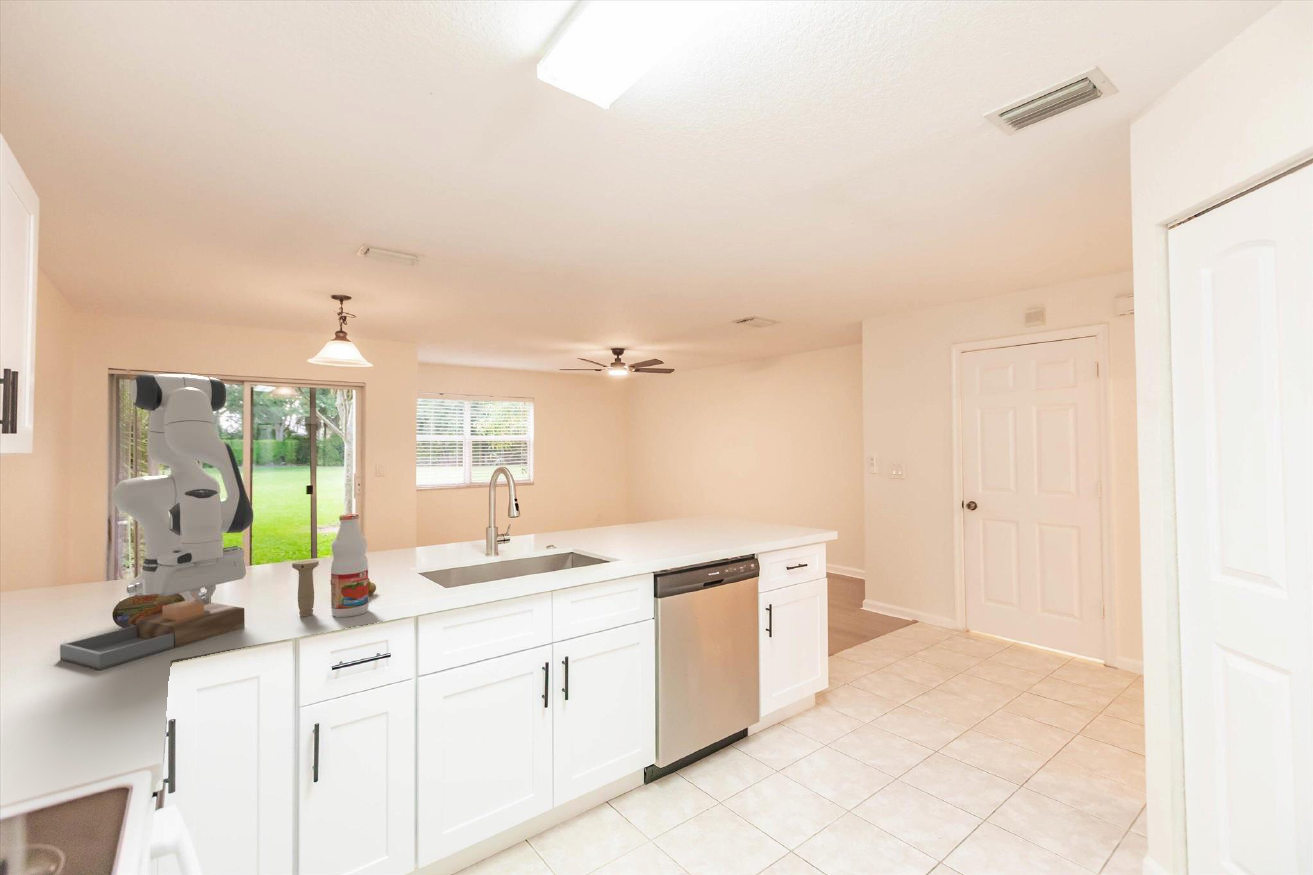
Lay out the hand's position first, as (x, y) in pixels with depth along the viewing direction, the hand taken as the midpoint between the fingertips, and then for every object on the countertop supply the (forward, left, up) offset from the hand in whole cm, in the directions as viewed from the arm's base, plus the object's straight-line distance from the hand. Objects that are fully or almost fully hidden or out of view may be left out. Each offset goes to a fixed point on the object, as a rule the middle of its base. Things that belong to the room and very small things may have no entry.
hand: (203, 604), depth 151 cm
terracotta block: (0, -4, -2) cm, 5 cm away
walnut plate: (0, -2, -7) cm, 7 cm away
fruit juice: (+24, +25, -7) cm, 35 cm away
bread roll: (+11, +36, -7) cm, 38 cm away
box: (0, -18, -7) cm, 19 cm away
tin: (-18, -2, -7) cm, 20 cm away
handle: (+14, +19, -7) cm, 24 cm away
